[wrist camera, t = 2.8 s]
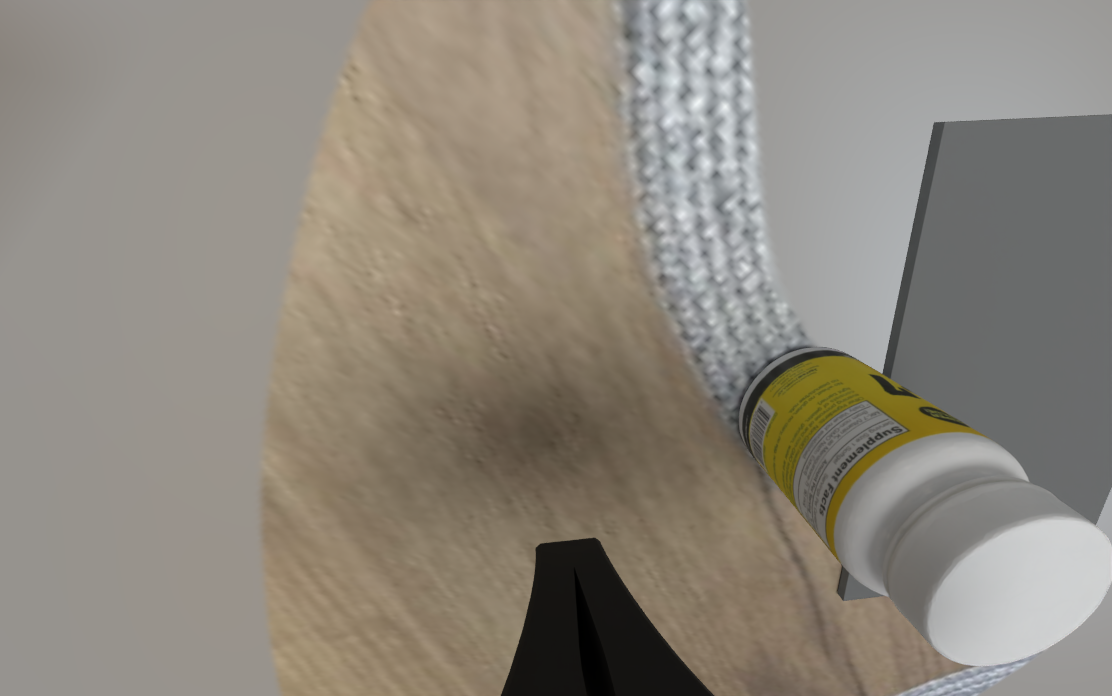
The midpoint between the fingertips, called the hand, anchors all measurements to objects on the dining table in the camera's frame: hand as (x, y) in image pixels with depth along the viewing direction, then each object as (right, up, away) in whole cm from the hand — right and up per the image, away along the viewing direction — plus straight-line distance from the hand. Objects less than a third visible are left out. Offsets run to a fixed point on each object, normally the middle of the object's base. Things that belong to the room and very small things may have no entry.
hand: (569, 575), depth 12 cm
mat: (+16, +4, +7) cm, 18 cm away
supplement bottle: (+8, +3, +7) cm, 11 cm away
